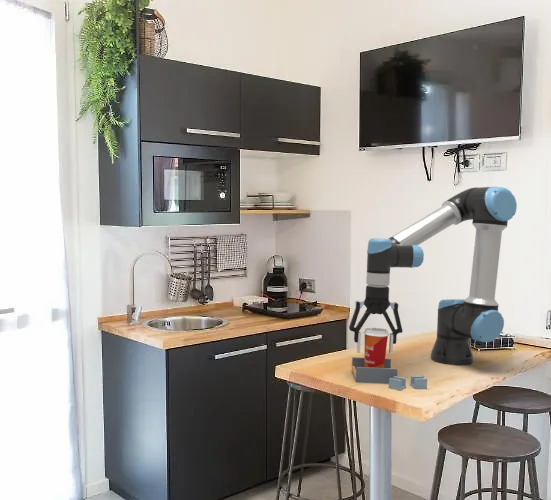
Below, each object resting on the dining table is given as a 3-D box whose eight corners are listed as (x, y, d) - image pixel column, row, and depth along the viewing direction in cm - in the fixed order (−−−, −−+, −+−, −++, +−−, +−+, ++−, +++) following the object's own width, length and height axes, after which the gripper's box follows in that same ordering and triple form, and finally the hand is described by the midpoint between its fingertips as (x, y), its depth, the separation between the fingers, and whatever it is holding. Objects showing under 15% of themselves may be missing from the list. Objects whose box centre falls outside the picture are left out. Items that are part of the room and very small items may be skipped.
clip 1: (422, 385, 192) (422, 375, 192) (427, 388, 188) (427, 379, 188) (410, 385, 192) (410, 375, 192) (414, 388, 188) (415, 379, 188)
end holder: (389, 372, 206) (390, 358, 206) (396, 384, 192) (397, 369, 192) (351, 371, 206) (352, 357, 206) (355, 382, 193) (356, 367, 193)
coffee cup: (358, 371, 203) (361, 326, 202) (382, 371, 204) (385, 327, 203) (364, 377, 195) (367, 331, 194) (389, 378, 196) (392, 332, 195)
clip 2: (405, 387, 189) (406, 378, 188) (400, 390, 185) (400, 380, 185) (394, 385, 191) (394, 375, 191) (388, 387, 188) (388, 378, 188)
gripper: (410, 285, 201) (406, 351, 202) (342, 282, 202) (339, 348, 203) (414, 288, 193) (411, 357, 195) (344, 285, 194) (341, 354, 195)
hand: (374, 352), depth 199 cm, fingers open, 10 cm apart
